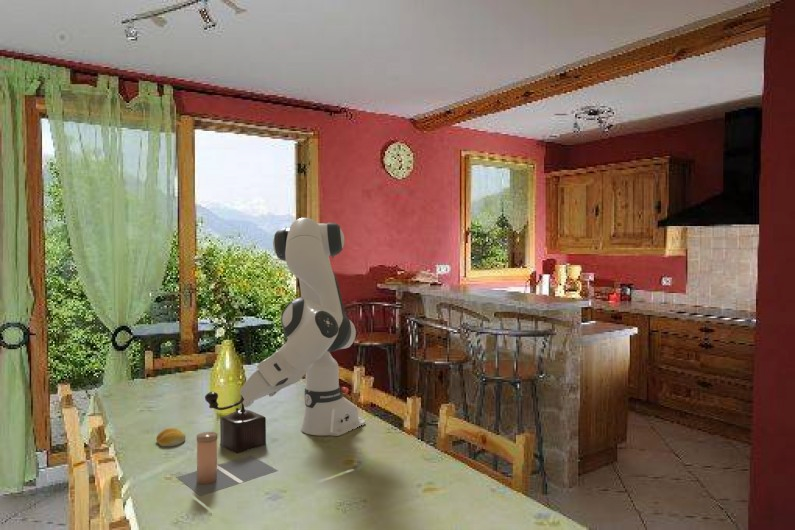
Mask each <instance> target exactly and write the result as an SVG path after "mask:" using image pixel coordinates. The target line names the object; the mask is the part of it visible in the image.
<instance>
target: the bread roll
mask: <svg viewBox="0 0 795 530" xmlns="http://www.w3.org/2000/svg"><path fill="white" fill-rule="evenodd" d="M186 438H187V437H186V434H185V433H184V432H182V431H181V430H180V429H178V428H173V427H172V428H171V427H168V428H166V429H164V430H162V431H160V432H159V433H158V434H157V436H156V442H157V444H159V446H161V447H174V446H175V445H176V446H178V445H180V444H182V443H184V442H185V441H186Z"/></svg>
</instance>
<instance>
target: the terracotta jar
mask: <svg viewBox="0 0 795 530" xmlns="http://www.w3.org/2000/svg"><path fill="white" fill-rule="evenodd" d="M217 465H218V432H215V431H205V432H204V431H203V432H201V433H198V434H196V471H197V483H199V484H210V483H213V482H215V481H216V480H217Z"/></svg>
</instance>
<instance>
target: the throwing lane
mask: <svg viewBox="0 0 795 530" xmlns="http://www.w3.org/2000/svg"><path fill="white" fill-rule="evenodd" d="M276 472H279V471H278V469H276V468H274V467H273V466H271V465H269V464H267V463H266V462H264V461H262V460H260V459H258V458H256V457H255V456H254V455H251V454H250V455H247V456H246V455H245V456H243V457H239V458H236V459H232V460H230V461H227V462H223V463H219V464H217V480H216V481H215V482H213V483H210V484H199V483H197V470H196V471H193V472H189V473H185V474H182V475H179V476H176V477H175V478H176V479H178V480H179V481H180V482H182V484H184V485H186V486H187V487H188V488H189V489H191V490H192V491H193V492H195V494H197V495H198V496H200V497H202V496H203V497H204V496H206V495H209V494H211V493H215V492H217V491H220V490H223V489H227V488H230V487H233V486H235V485H239V484H242V483H246V482H248V481H251V480H254V479H255V480H256V479H257V478H260V477H263V476H266V475H270V474H273V473H276Z"/></svg>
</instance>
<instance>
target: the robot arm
mask: <svg viewBox="0 0 795 530" xmlns="http://www.w3.org/2000/svg"><path fill="white" fill-rule="evenodd" d="M344 245H345V235H344V232H343V230H342V229H341V226H340V225H339V224H338V223H335V222H327V223H319V222H317V221H316V220H314V219H312V218H309V217H301V218H298V219H296V220H294V221H293V222H292V223H291V225H290V226H289V227H287V226H286V227H282V228H280V229H278V230H277V231H276V232H275V233H274V235H273V240H272V246H273V250H274V254H276V257H277V258H278V259H279V260H280V261H284V262H285V263H286V265H287V268H288V270H289V271H290V272H291V274H292V275H293V276H295V277H296V278H297V279H298V280H299V289H300V297H297V298H294V299H293V300H291V301H290V302H288V303H287V305H286V306H285V307H284V308H283V311H282V313H281V315H280V323H281V327H282V329H283V333H284V336H285V337H287V340H286V342H285V343H283V345H282V346H281V347H280V348H278V350H276V351H275V352H274V353H273V354H272V355H270V356H268V357H266V358H265V359H263V360H262V361H260V362H259V363H258V364H257V365H256V369H257V370H255V371H254V372H253V373H252V374H251V375H250V376H249V377H248V378H247V380H246V381H245V383H244V384H243V385H242V387H240V390H239V394H240V396H241V395H242V397H243V398H244V401H243V402H242V403H243V405H244V408H249V407H250V406H252V405H253V404H254V401H257V400H259V399H262V398H265V397H267V396H269V397H273V396H276V395H277V393H278V392H280V391H281V390H283V389H285V388H287V387H289V386H291V385H294V384H297V383H298V382H300V380H301V379H302V378H303V377H305V388H304V405H305V406H304V415H303V420H302V424H301V427H300V431H301V432H302V433H305V434H307V435H310V436H311V435H312V436H334V437H336V436H337V437H338V436H342V435H344V434H346V433H348V431H349V432H351V431H352V429H353V430H355V429H358V428H360V427H362V426H364V424H365V425H366V420H365V419H364V418H362V417H360V416H359V410H358V408H357V406H356V404H354V403H352V402H351V401H350V400H349V399H347V398H346V397H344V394H348V392H349V388H348V387H345V386H340V383H339V380H340V379H339V377H340V376H339V374H340V373H339V370H340V369H339V364H338V362H337V360H336V359H335V358H333V356H332V354H331V353H332V352H336V351H338V350H344V349H348V348H350V347H351V346H352V345H353V343H354V342H355V339H356V335H357V333H356V332H357V331H356V327H355V324H354V323H353V322H352V321H351V320H350V319H349V317H348V315H347V313H346V311H345V306H344V302H343V299H342V293H341V290H340V285H339V281H338V279H337V276H336V273H335V272H334V271H333V268H332V264H331V260H330V257H331V258H332V259H333V258H335V256H338V255H340V253H342V251H343V249H344ZM343 393H344V394H343ZM361 425H362V426H361ZM359 426H360V427H359ZM357 427H358V428H357Z"/></svg>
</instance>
